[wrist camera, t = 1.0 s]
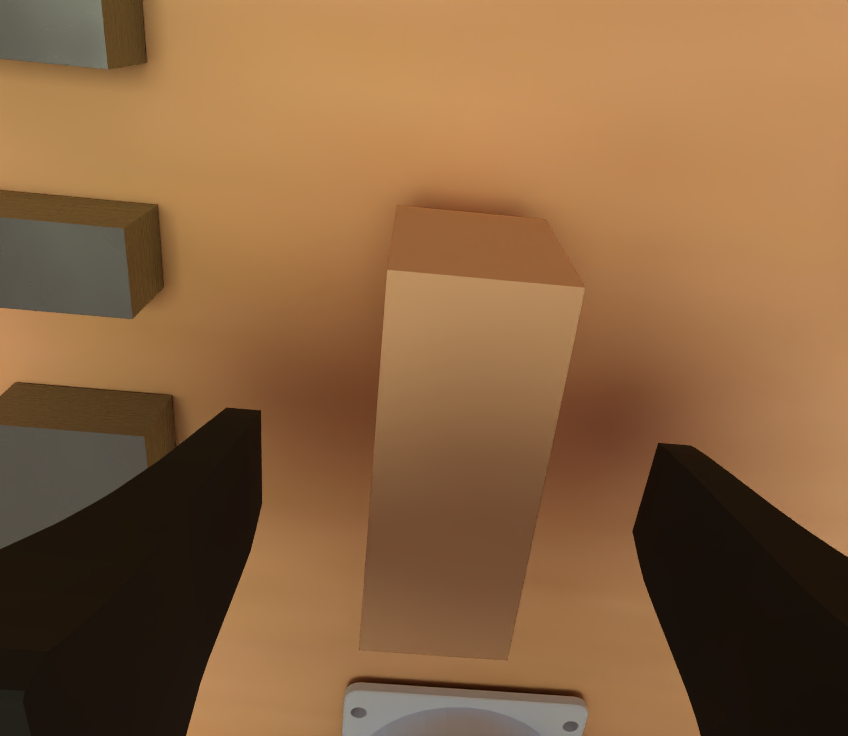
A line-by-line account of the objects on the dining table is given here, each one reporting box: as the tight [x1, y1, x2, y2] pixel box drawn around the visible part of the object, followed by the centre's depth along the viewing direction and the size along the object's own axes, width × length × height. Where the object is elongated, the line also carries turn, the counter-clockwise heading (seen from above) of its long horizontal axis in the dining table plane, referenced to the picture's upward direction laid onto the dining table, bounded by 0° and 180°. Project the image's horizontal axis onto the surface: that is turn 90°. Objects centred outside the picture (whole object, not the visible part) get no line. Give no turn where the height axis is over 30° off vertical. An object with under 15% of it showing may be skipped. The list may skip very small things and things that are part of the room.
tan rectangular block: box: [359, 205, 585, 660], centre depth 15 cm, size 8×3×6 cm, turn 175°
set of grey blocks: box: [0, 0, 176, 549], centre depth 16 cm, size 16×4×2 cm, turn 175°
